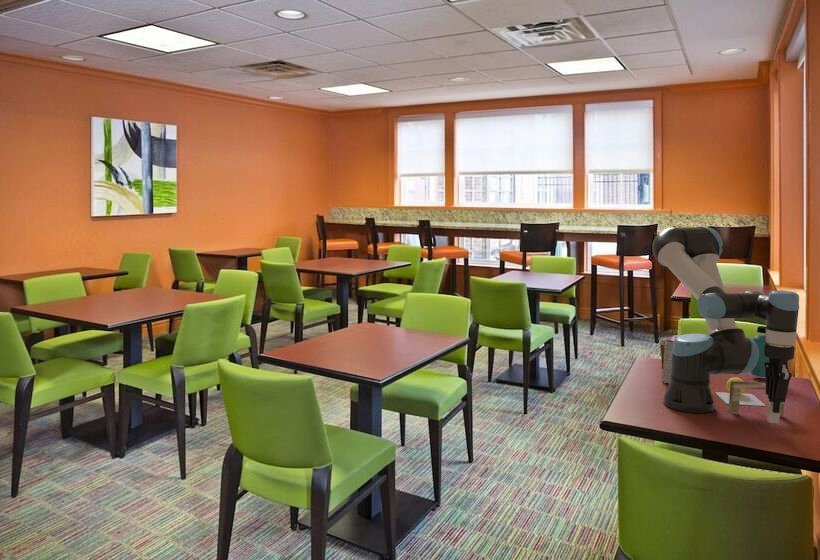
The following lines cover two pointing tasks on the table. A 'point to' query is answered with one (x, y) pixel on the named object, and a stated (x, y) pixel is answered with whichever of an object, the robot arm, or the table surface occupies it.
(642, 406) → the table surface
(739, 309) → the robot arm
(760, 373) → the beverage bottle
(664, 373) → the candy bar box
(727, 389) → the ball
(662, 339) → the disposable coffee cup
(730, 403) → the bridge
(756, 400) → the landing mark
